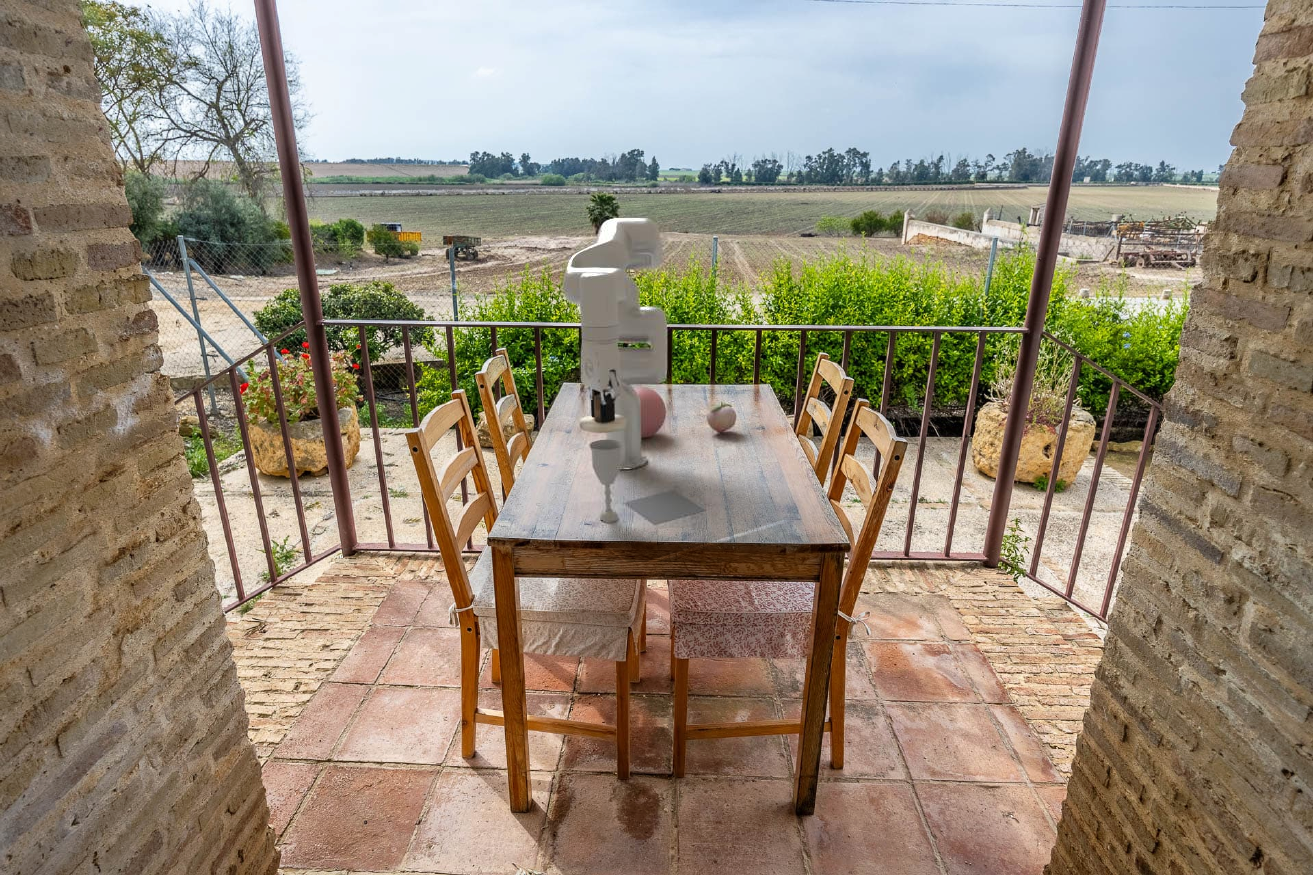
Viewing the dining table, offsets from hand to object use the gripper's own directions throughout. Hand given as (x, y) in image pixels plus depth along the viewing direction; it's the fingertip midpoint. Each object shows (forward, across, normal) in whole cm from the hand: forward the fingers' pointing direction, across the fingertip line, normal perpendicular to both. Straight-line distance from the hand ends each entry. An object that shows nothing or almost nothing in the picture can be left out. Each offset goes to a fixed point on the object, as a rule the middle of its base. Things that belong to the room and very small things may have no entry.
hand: (603, 418), depth 149 cm
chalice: (+24, 0, 0) cm, 24 cm away
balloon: (+24, -48, +37) cm, 65 cm away
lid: (+2, 0, 0) cm, 2 cm away
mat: (+24, +2, +14) cm, 28 cm away
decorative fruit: (+24, -35, +58) cm, 72 cm away
